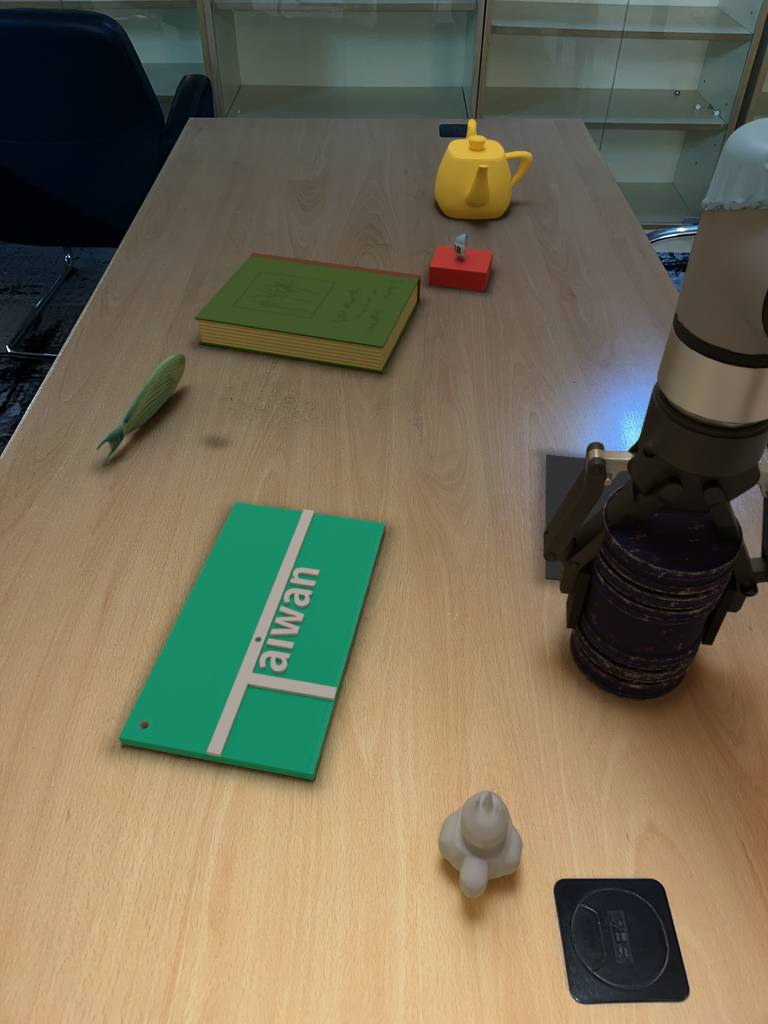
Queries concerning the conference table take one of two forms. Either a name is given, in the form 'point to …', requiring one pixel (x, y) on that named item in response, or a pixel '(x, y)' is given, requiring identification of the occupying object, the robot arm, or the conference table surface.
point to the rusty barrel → (650, 603)
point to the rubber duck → (480, 841)
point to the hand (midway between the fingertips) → (637, 623)
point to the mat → (557, 487)
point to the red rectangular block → (460, 266)
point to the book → (311, 311)
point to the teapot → (477, 177)
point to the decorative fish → (149, 399)
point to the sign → (261, 642)
